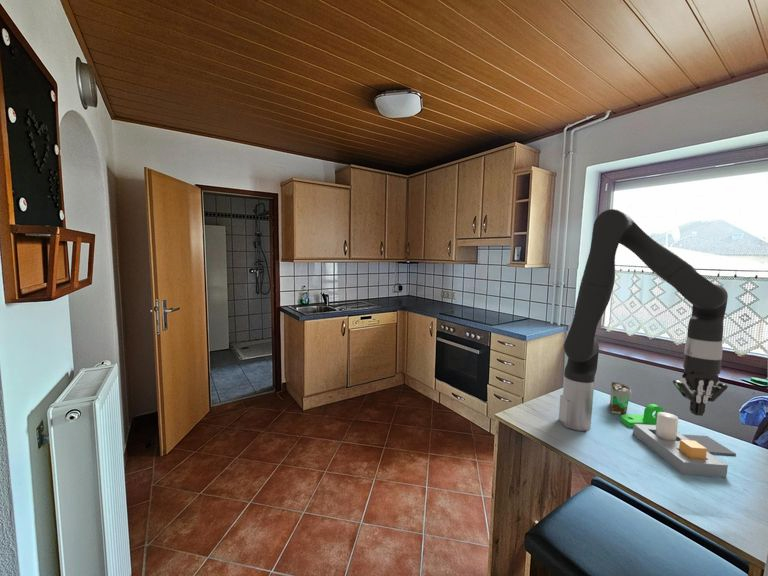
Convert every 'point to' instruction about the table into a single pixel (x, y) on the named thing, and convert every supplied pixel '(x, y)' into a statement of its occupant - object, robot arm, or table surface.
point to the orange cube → (692, 449)
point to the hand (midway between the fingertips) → (696, 414)
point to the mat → (710, 445)
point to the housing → (679, 454)
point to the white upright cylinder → (666, 426)
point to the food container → (619, 398)
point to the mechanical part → (642, 416)
